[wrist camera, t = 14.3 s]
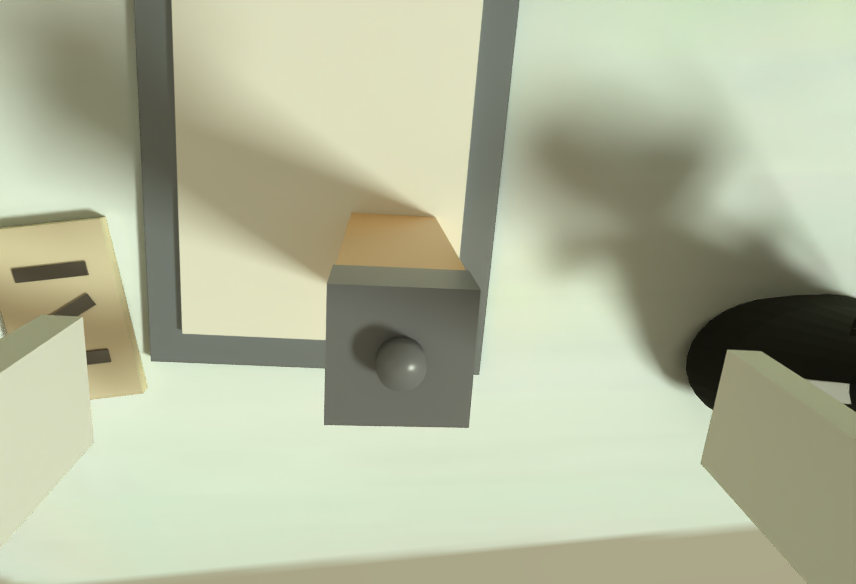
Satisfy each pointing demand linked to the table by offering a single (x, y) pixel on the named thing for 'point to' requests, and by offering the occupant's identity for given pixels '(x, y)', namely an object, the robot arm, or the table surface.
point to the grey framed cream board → (307, 155)
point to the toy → (783, 342)
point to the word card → (73, 295)
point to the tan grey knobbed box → (399, 326)
